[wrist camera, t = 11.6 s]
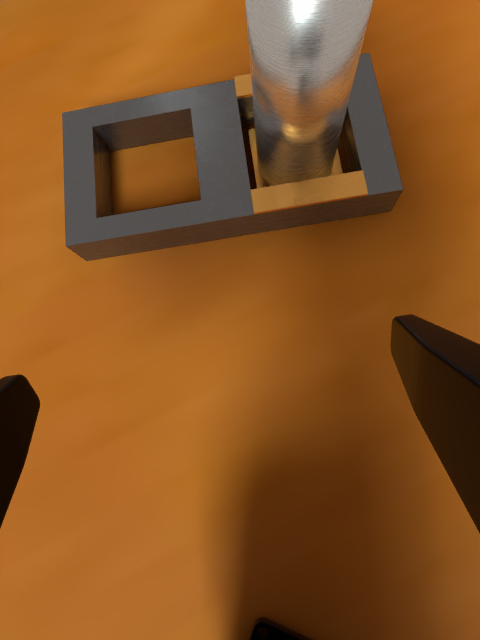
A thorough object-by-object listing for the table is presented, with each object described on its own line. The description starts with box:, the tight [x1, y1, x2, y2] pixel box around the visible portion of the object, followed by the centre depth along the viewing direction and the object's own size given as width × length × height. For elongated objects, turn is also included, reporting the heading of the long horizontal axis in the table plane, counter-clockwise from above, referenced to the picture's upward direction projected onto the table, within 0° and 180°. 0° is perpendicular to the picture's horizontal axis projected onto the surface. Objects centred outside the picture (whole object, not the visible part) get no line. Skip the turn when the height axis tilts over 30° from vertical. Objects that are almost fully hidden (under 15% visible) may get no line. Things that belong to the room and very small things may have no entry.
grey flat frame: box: [62, 53, 403, 261], centre depth 24 cm, size 20×10×3 cm, turn 97°
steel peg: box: [245, 0, 373, 186], centre depth 19 cm, size 5×5×12 cm
